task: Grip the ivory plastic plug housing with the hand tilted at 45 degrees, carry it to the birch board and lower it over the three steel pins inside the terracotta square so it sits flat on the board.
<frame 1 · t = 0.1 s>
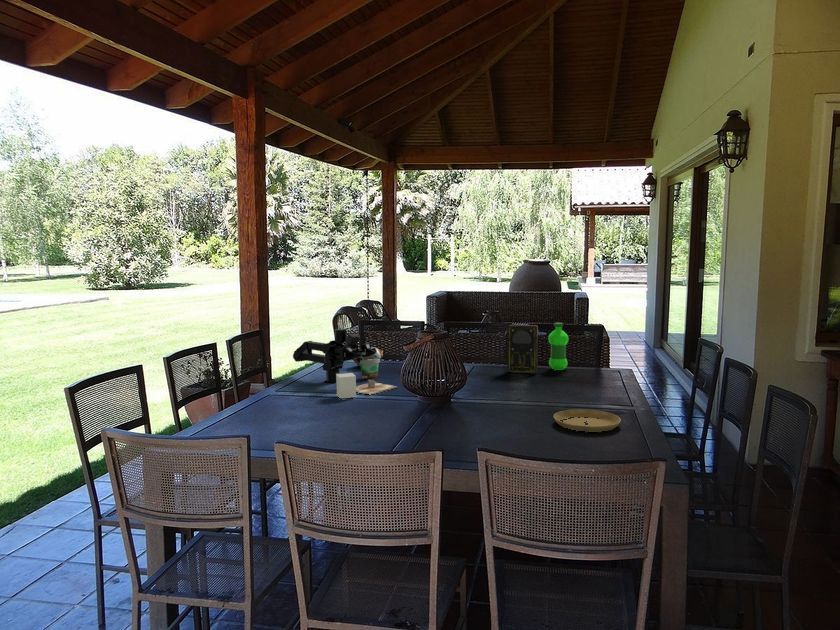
hand: (368, 354, 297), 17 cm above the table, tool horizontal, fingers open, 9 cm apart
plastic bottle: (558, 370, 336), on the table
voltmeter: (522, 372, 331), on the table
plant saucer: (586, 426, 234), on the table
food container: (372, 378, 323), on the table
plug housing: (346, 397, 283), on the table
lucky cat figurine: (368, 367, 353), on the table
header board: (371, 389, 297), on the table
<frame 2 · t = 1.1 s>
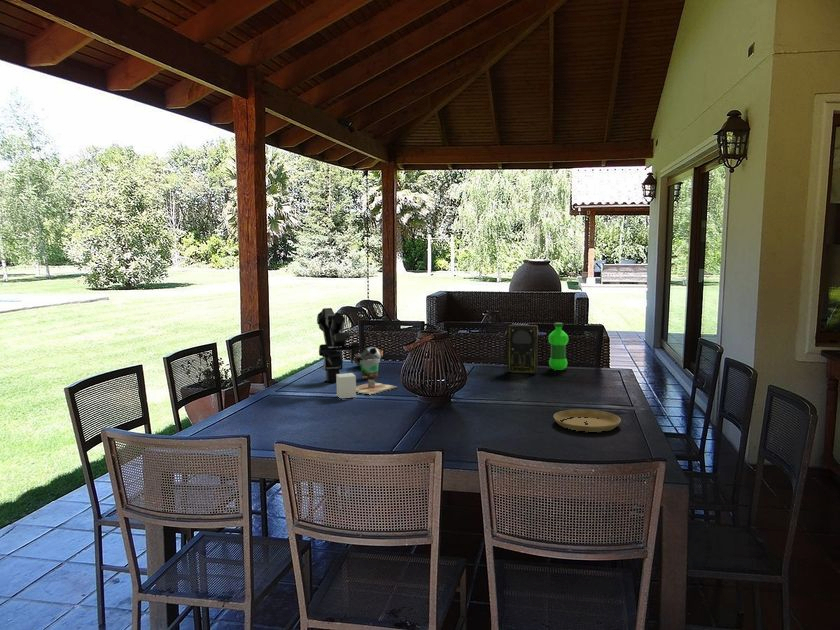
hand: (342, 363, 289), 14 cm above the table, tool tilted 45°, fingers open, 9 cm apart
nothing on the table moved.
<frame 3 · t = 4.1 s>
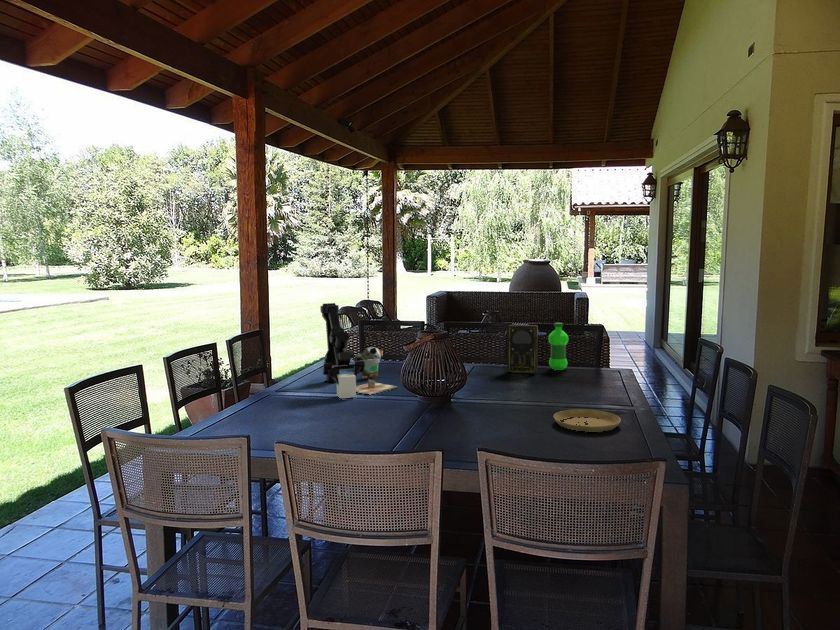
hand: (346, 383, 281), 7 cm above the table, tool tilted 45°, fingers closed on plug housing, 7 cm apart
plug housing: (346, 397, 283), on the table, touching gripper
everything else where it was.
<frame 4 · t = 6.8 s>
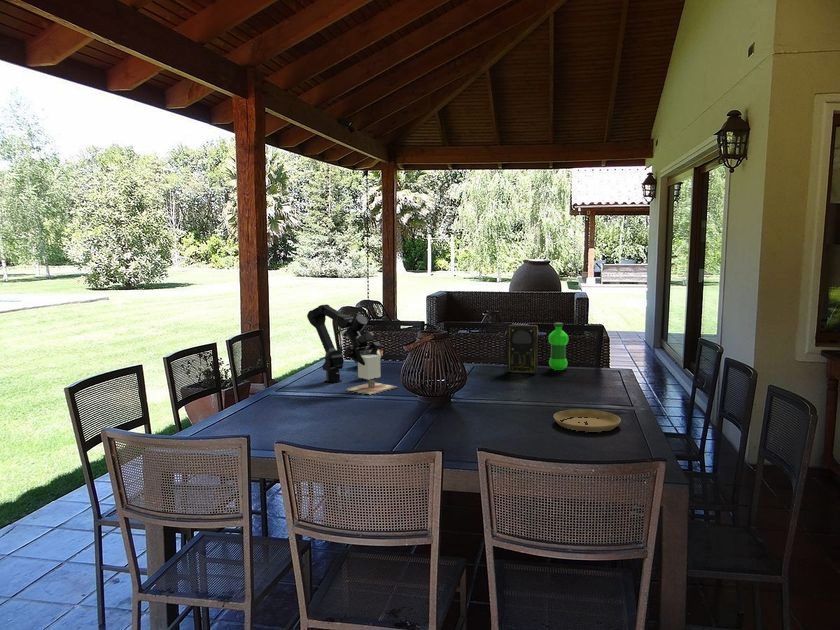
hand: (370, 363, 293), 13 cm above the table, tool tilted 45°, fingers closed on plug housing, 7 cm apart
plug housing: (369, 377, 294), point 6 cm above the table, touching gripper
everything else where it was.
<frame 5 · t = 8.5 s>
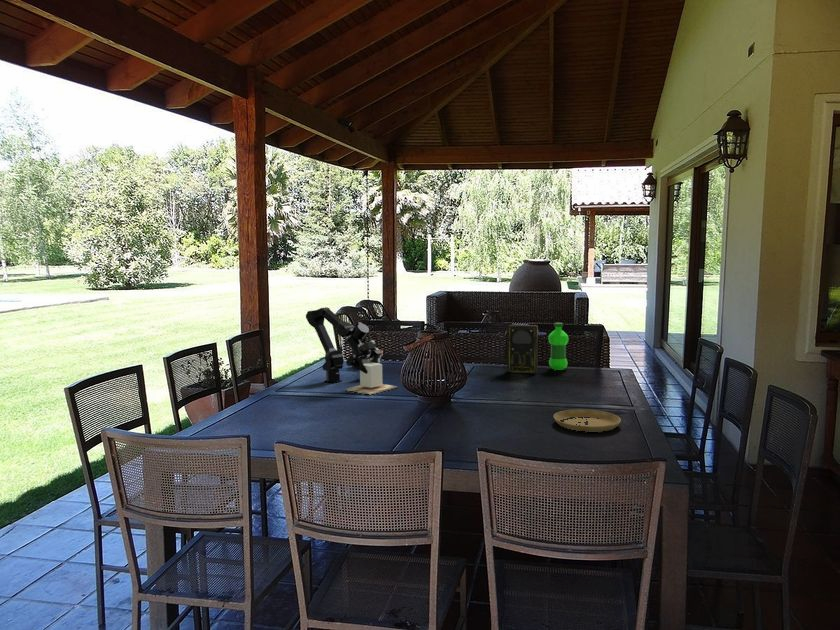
hand: (373, 371, 295), 9 cm above the table, tool tilted 45°, fingers closed on plug housing, 7 cm apart
plug housing: (371, 385, 296), point 2 cm above the table, touching gripper
everything else where it was.
when the fingers open (8 cm above the table, at t = 9.8 s): plug housing stays where it is, resting on header board.
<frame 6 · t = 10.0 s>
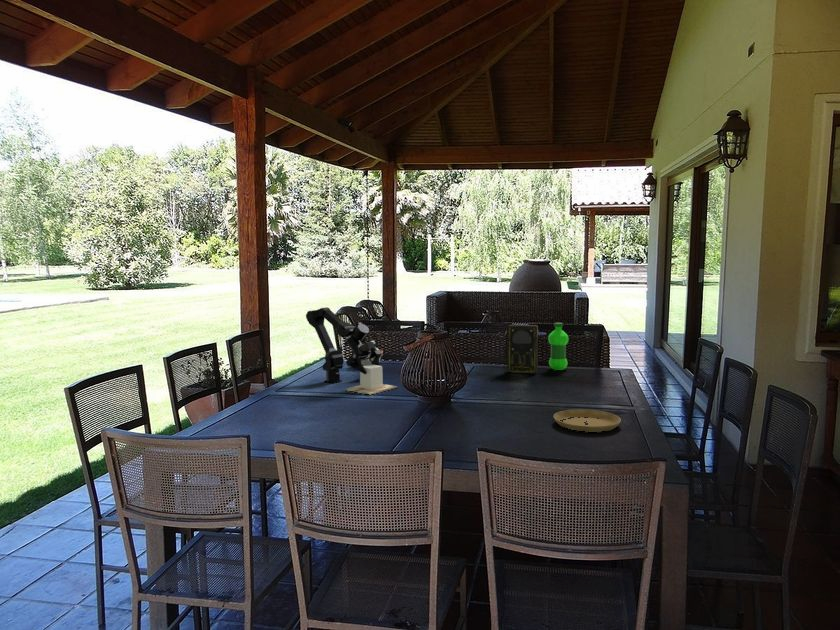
hand: (373, 372, 295), 9 cm above the table, tool tilted 45°, fingers open, 9 cm apart
plug housing: (371, 387, 297), point 1 cm above the table, touching header board
everything else where it was.
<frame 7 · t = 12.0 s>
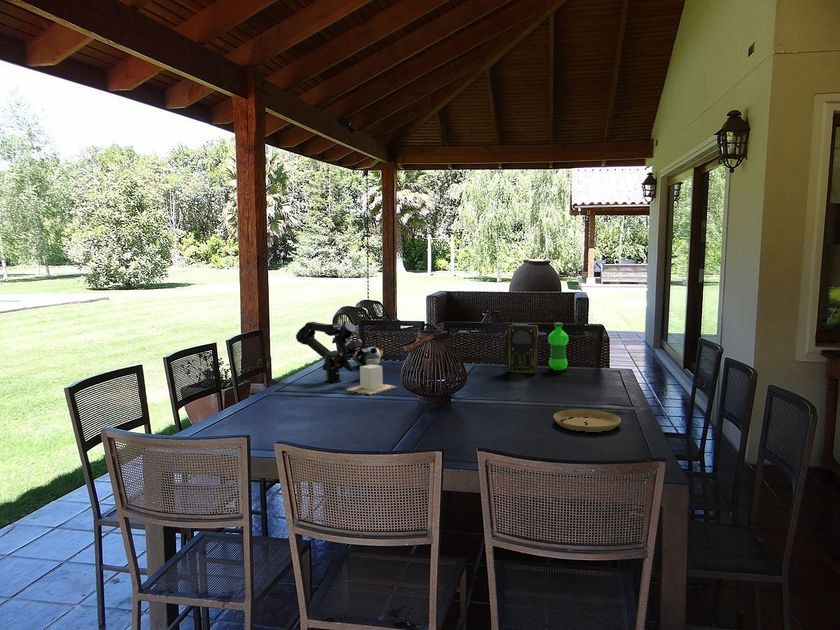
hand: (359, 369, 301), 8 cm above the table, tool tilted 45°, fingers open, 9 cm apart
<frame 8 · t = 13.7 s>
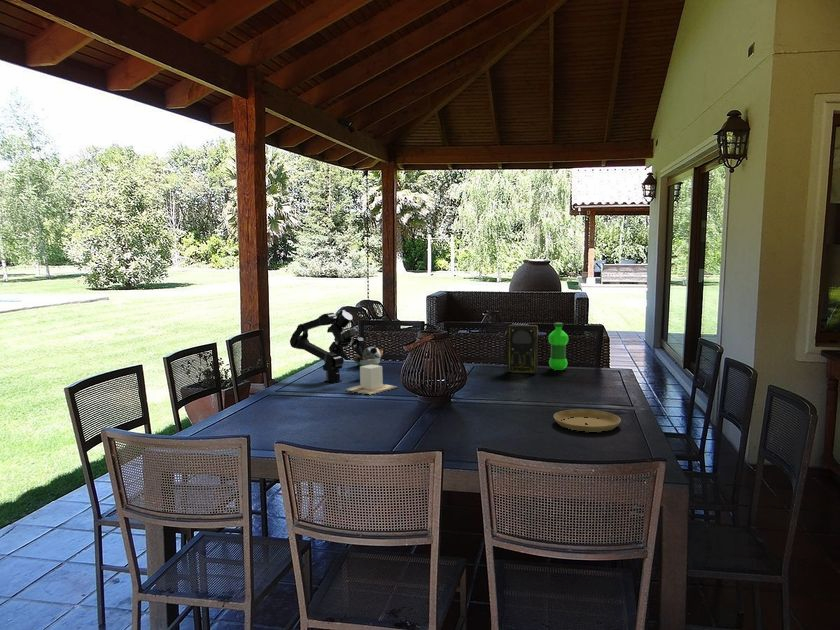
hand: (355, 358, 303), 14 cm above the table, tool tilted 45°, fingers open, 9 cm apart
at the end: plug housing 0.1 cm off-centre on the header board, point 1.1 cm above the header board's base; plug housing tilted 0°; the gripper is holding nothing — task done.
